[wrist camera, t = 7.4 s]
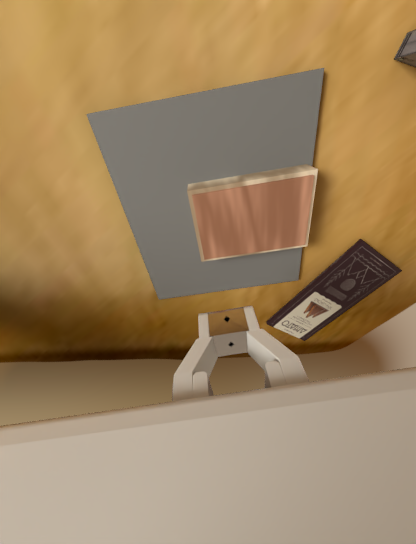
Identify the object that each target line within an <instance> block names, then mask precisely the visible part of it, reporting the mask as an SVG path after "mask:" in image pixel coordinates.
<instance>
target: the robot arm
mask: <svg viewBox="0 0 416 544" xmlns="http://www.w3.org/2000/svg"><path fill="white" fill-rule="evenodd" d="M198 319H199V339H196V341H195V342H194V344H193V345H192V347H191V349H190V350H189V352H188V353H187V355H186V356H185V358H184V360H183V361H182V363H181V364H180V366H179V367H178V369H177V371H176V372H175V374H174V380H173V394H172V402H166V403H159V404H152V405H145V406H138V407H132V408H124V409H117V410H110V411H102V412H95V413H88V414H82V415H74V416H67V417H61V418H53V419H46V420H39V421H32V422H25V423H18V424H11V425H3V426H0V544H416V367H412V368H404V369H397V370H390V371H383V372H376V373H369V374H362V375H356V376H348V377H341V378H334V379H328V380H320V381H313V382H309V380H308V378H307V375H306V373H305V371H304V369H303V366H302V364H301V362H300V359H299V357H298V356H297V355H295V354H294V353H293V352H292V351H290V350H289V349H288V348H287V347H285V346H284V345H283V344H281V343H280V342H279V341H278V340H276V339H275V338H274V337H273V336H271V335H270V334H269V333H267V332H266V331H265V330H264V329H260V327H259V324H258V321H257V318H256V315H255V312H254V309H253V307H252V306H247V307H240V308H234V309H228V310H224V311H216V312H208V313H202V314H199V316H198ZM232 353H233V354H240V353H249V355H250V356H251V357H252V358H253V359H254V360H255V361H256V362H257V363H258V364H259V365H260V366H261V368H262V369H263V370H264V371H265V388H264V389H257V390H250V391H243V392H236V393H229V394H222V395H215V396H214V395H213V391H212V388H211V385H210V382H209V376H210V374H211V371H212V369H213V367H214V365H215V363H216V360H217V357H220V356H226V355H232Z"/></svg>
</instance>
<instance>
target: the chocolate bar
mask: <svg viewBox="0 0 416 544" xmlns="http://www.w3.org/2000/svg"><path fill="white" fill-rule="evenodd" d="M401 271H402V270H400V269H399V268H398V267H396V266H395V265H394V264H392V263H391V262H390V261H389V260H387V259H386V258H385V257H383V256H382V255H381V254H379V253H378V252H377V251H376V250H374V249H373V248H372V247H370V246H369V245H368V244H366V243H365V242H364V241H363V240H361V239H360V240H359V241H357V242H356V243H355V244H354V245H353V246H352V247H351V248H349V249H348V250H347V251H346V252H345V253H344V254H343V255H342V256H340V257H339V258H338V259H337V260H336V261H335V262H334V263H332V264H331V265H330V266H329V267H328V268H327V269H326V270H324V271H323V272H322V273H321V274H320V275H319V276H318V277H317V278H315V279H314V280H313V281H312V282H311V283H310V284H309V285H307V286H306V287H305V288H304V289H303V290H302V291H301V292H300V293H298V294H297V295H296V296H295V297H294V298H293V299H292V300H290V301H289V302H288V303H287V304H286V305H285V306H284V307H283V308H281V309H280V310H279V311H278V312H277V313H276V314H275V315H273V316H272V317H271V318H270V319H269V320H268V321H267V324H268V325H270V326H272V327H275V328H277V329H279V330H281V331H284V332H286V333H288V334H291V335H293V336H295V337H297V338H300V339H302V340H304V341H305V340H307V339H308V338H309V337H311V336H312V335H314V334H315V333H316V332H318V331H319V330H320V329H322V328H323V327H325V326H326V325H327V324H329V323H330V322H332V321H333V320H334V319H336V318H337V317H339V316H340V315H341V314H343V313H344V312H345V311H347V310H348V309H350V308H351V307H352V306H354V305H355V304H357V303H358V302H359V301H361V300H362V299H363V298H365V297H366V296H368V295H369V294H370V293H372V292H373V291H375V290H376V289H377V288H379V287H380V286H382V285H383V284H384V283H386V282H387V281H388V280H390V279H391V278H393V277H394V276H395V275H397V274H398V273H400V272H401Z"/></svg>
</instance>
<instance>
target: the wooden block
mask: <svg viewBox="0 0 416 544" xmlns="http://www.w3.org/2000/svg"><path fill="white" fill-rule="evenodd" d="M317 173H318V169H317V168H314V167H312V166H310V165H308V164H304V165H299V166H293V167H287V168H281V169H275V170H269V171H263V172H257V173H251V174H245V175H240V176H234V177H228V178H222V179H216V180H210V181H204V182H198V183H192V184H188V188H187V193H188V198H189V203H190V208H191V213H192V218H193V223H194V228H195V232H196V237H197V242H198V247H199V252H200V257H201V262H204V261H210V260H217V259H224V258H231V257H238V256H244V255H251V254H258V253H265V252H272V251H278V250H285V249H292V248H299V247H305V246H307V245H308V238H309V231H310V224H311V216H312V209H313V202H314V195H315V187H316V180H317Z"/></svg>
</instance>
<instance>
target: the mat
mask: <svg viewBox="0 0 416 544" xmlns="http://www.w3.org/2000/svg"><path fill="white" fill-rule="evenodd" d="M323 73H324V68H321V69H316V70H311V71H306V72H301V73H295V74H290V75H285V76H280V77H275V78H270V79H265V80H259V81H254V82H249V83H244V84H239V85H234V86H229V87H223V88H218V89H213V90H208V91H203V92H198V93H193V94H187V95H182V96H177V97H172V98H167V99H162V100H157V101H151V102H146V103H141V104H136V105H131V106H126V107H121V108H116V109H110V110H105V111H100V112H95V113H90V114H87V117H88V119H89V122H90V125H91V127H92V130H93V132H94V135H95V137H96V140H97V142H98V145H99V148H100V150H101V153H102V155H103V158H104V160H105V163H106V165H107V168H108V171H109V173H110V176H111V178H112V181H113V183H114V186H115V188H116V191H117V194H118V196H119V199H120V201H121V204H122V206H123V209H124V211H125V214H126V217H127V219H128V222H129V224H130V227H131V229H132V232H133V234H134V237H135V240H136V242H137V245H138V247H139V250H140V252H141V255H142V257H143V260H144V263H145V265H146V268H147V270H148V273H149V275H150V278H151V280H152V283H153V286H154V288H155V291H156V293H157V296H158V298H159V299H166V298H174V297H181V296H188V295H195V294H203V293H210V292H217V291H224V290H231V289H239V288H246V287H253V286H260V285H268V284H275V283H282V282H289V281H296V280H298V278H299V270H300V262H301V254H302V247H299V248H292V249H285V250H278V251H272V252H265V253H258V254H251V255H244V256H238V257H231V258H224V259H217V260H210V261H204V262H201V257H200V252H199V247H198V242H197V237H196V232H195V228H194V223H193V218H192V213H191V208H190V203H189V198H188V193H187V188H188V184H192V183H198V182H204V181H210V180H216V179H222V178H228V177H234V176H240V175H245V174H251V173H257V172H263V171H269V170H275V169H281V168H287V167H293V166H299V165H304V164H308V165H310V166H312V164H313V155H314V147H315V139H316V131H317V123H318V114H319V106H320V98H321V90H322V82H323Z"/></svg>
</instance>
